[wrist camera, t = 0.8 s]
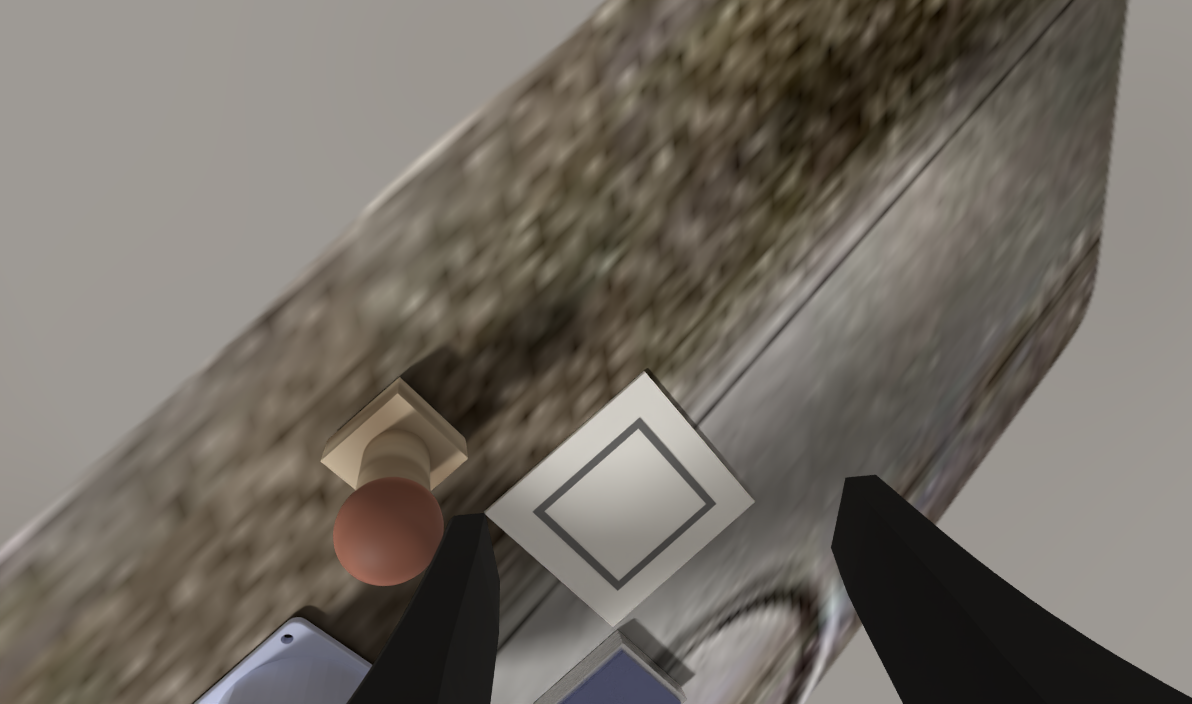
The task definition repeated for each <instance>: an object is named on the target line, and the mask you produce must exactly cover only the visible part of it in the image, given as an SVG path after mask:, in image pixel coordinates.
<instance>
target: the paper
mask: <svg viewBox="0 0 1192 704" xmlns="http://www.w3.org/2000/svg"><path fill="white" fill-rule="evenodd" d="M754 502H755V501H754V500H753V499H752V498H751V496H750V495H749V494H748V493H747V492H746V490H745V489H744V488H743V487H742V486H741V485H740V483H739V482H738V481H737V480H736V479H735V478H734V476H733V475H732V474H731V473H730V472H729V470H728V469H727V468H726V467H725V466H724V465H723V463H722V462H721V461H720V460H719V459H718V457H717V456H716V455H715V454H714V453H713V452H712V450H711V449H710V448H709V447H708V446H707V444H706V443H705V442H704V441H703V440H702V439H701V437H700V436H699V435H698V434H697V433H696V431H695V430H694V429H693V428H692V427H691V426H690V424H689V423H688V422H687V421H686V420H685V418H684V417H683V416H682V415H681V414H680V413H679V411H678V410H677V409H676V408H675V407H674V405H673V404H672V403H671V402H670V401H669V400H668V398H667V397H666V396H665V395H664V394H663V392H662V391H661V390H660V389H659V388H658V387H657V385H656V384H655V383H654V382H653V381H652V380H651V378H650V377H649V376H648V375H647V374H646V372H645V371H643V372H642V373H641V374H640V375H639V376H638V377H636V378H635V379H634V380H633V381H632V382H631V383H630V384H628V385H627V386H626V387H625V388H624V389H623V390H622V391H621V392H619V393H618V394H617V395H616V396H615V397H614V398H613V399H611V400H610V401H609V402H608V403H607V404H606V405H605V406H603V407H602V408H601V409H600V410H599V411H598V412H597V413H595V414H594V415H593V416H592V417H591V418H590V419H589V420H588V421H586V422H585V423H584V424H583V425H582V426H581V427H580V428H578V429H577V430H576V431H575V432H574V433H573V434H572V435H570V436H569V437H568V438H567V439H566V440H565V441H564V442H563V443H561V444H560V445H559V446H558V447H557V448H556V449H555V450H553V451H552V452H551V453H550V454H549V455H548V456H547V457H545V458H544V459H543V460H542V461H541V462H540V463H539V464H537V465H536V466H535V467H534V468H533V469H532V470H531V471H530V472H528V473H527V474H526V475H525V476H524V477H523V478H522V479H520V480H519V481H518V482H517V483H516V484H515V485H514V486H512V487H511V488H510V489H509V490H508V491H507V492H506V493H505V494H503V495H502V496H501V497H500V498H499V499H498V500H497V501H495V502H494V503H493V504H492V505H491V506H490V507H489V508H487V509H486V510H485V511H484V513H485V515H487V516H488V517H489V518H490V519H491V520H492V521H493V522H494V523H496V524H497V525H498V526H499V527H500V528H501V529H502V530H503V531H505V532H506V533H507V534H508V535H509V536H510V537H511V538H513V539H514V540H515V541H516V542H517V543H518V544H519V545H520V546H522V547H523V548H524V549H525V550H526V551H527V552H528V553H529V554H531V555H532V556H533V557H534V558H535V559H536V560H537V561H539V562H540V563H541V564H542V565H543V566H544V567H545V568H546V569H548V570H549V571H550V572H551V573H552V574H553V575H554V576H555V577H557V578H558V579H559V580H560V581H561V582H562V583H563V584H565V585H566V586H567V587H568V588H569V589H570V590H571V591H572V592H574V593H575V594H576V595H577V596H578V597H579V598H580V599H581V600H583V601H584V602H585V603H586V604H587V605H588V606H589V607H591V608H592V609H593V610H594V611H595V612H596V613H597V614H598V615H600V616H601V617H602V618H603V619H604V620H605V621H606V622H607V623H609V624H610V625H611V626H612V627H614V626H615V625H616V624H617V623H618V622H619V621H621V620H622V619H623V618H624V617H625V616H626V615H627V614H628V613H630V612H631V611H632V610H633V609H634V608H635V607H636V606H638V605H639V604H640V603H641V602H642V601H643V600H644V599H646V598H647V597H648V596H649V595H650V594H651V593H652V592H653V591H655V590H656V589H657V588H658V587H659V586H660V585H661V584H663V583H664V582H665V581H666V580H667V579H668V578H669V577H670V576H672V575H673V574H674V573H675V572H676V571H677V570H678V569H680V568H681V567H682V566H683V565H684V564H685V563H686V562H687V561H689V560H690V559H691V558H692V557H693V556H694V555H695V554H697V553H698V552H699V551H700V550H701V549H702V548H703V547H704V546H706V545H707V544H708V543H709V542H710V541H711V540H712V539H714V538H715V537H716V536H717V535H718V534H719V533H720V532H722V531H723V530H724V529H725V528H726V527H727V526H728V525H729V524H731V523H732V522H733V521H734V520H735V519H736V518H737V517H739V516H740V515H741V514H742V513H743V512H744V511H745V510H746V509H748V508H749V507H750V506H751V505H752V504H753V503H754Z"/></svg>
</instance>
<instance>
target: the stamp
mask: <svg viewBox="0 0 1192 704" xmlns="http://www.w3.org/2000/svg"><path fill="white" fill-rule="evenodd" d="M467 459H468V453H467V447H466V440H465V438H464V437H463V436H462V435H461V434H460V433H459V432H458V431H457V430H456V429H455V428H454V427H453V426H452V425H451V424H449V423H448V422H447V421H446V420H445V419H444V418H443V417H442V416H441V415H440V414H439V413H438V412H437V411H436V410H434V409H433V408H432V407H431V406H430V405H429V404H428V403H427V402H426V401H425V400H424V399H423V398H422V397H421V396H420V395H418V394H417V393H416V392H415V391H414V390H413V389H412V388H411V387H410V386H409V385H408V384H407V383H406V382H405V381H404V380H402V379H401V378H400V377H399V378H398V379H397V380H396V381H394V382H393V383H392V384H391V385H390V386H389V387H388V388H386V389H385V390H384V391H383V392H382V393H381V394H380V395H378V396H377V397H376V398H375V399H374V400H373V401H372V402H370V403H369V404H368V405H367V406H366V407H365V408H364V409H363V410H361V411H360V412H359V413H358V414H357V415H356V416H355V417H353V418H352V419H351V420H350V421H349V422H348V423H347V424H345V425H344V426H343V427H342V428H341V429H340V430H339V431H337V432H336V433H335V434H334V435H333V436H332V437H331V438H329V439H328V441H327V444H326V446H325V449H324V452H323V455H322V458H321V462H322V463H323V464H325V465H326V466H327V467H328V468H329V469H331V470H332V471H333V472H334V473H336V474H337V475H338V476H339V477H341V478H342V479H343V480H344V481H345V482H347V483H348V484H349V485H350V486H352V487H353V488H354V489H355V492H353V493H352V494H351V495H350V496H349V497H348V499H347V500H346V501H345V502H344V504H343V505H342V507H341V509H340V510H339V513H338V515H337V518H336V520H335V525H334V532H333V540H334V547H335V551H336V554H337V556H338V558H339V561H340V562H341V564H342V565H343V567H344V568H345V569H346V570H347V571H348V572H349V573H350V574H351V575H352V576H354V577H355V578H357V579H358V580H360V581H363V582H365V583H368V584H372V585H377V586H390V585H396V584H400V583H403V582H406V581H408V580H410V579H412V578H414V577H415V576H417V575H418V574H420V573H421V572H422V571H423V570H424V569H425V568H426V567H428V566H429V564H430V563H431V561H432V559H433V557H434V554H435V552H436V550H437V548H438V546H439V544H440V541H441V539H442V537H443V531H444V521H443V516H442V512H441V509H440V506H439V504H438V502H437V500H436V499H435V497H434V496H433V495H432V494H431V490H433V489H434V488H435V487H436V486H437V485H438V484H439V483H441V482H442V481H443V480H444V479H445V478H446V477H447V476H449V475H450V474H451V473H452V472H453V471H454V470H455V469H456V468H458V467H459V466H460V465H461V464H462V463H463V462H464V461H466V460H467Z"/></svg>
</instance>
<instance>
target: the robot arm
mask: <svg viewBox="0 0 1192 704" xmlns="http://www.w3.org/2000/svg"><path fill="white" fill-rule="evenodd" d="M831 549H832V552H833V554H834V557H835V560H836V563H837V566H838V569H839V572H840V575H841V577H842V580H843V582H844V585H845V588H846V590H847V593H848V596H849V598H850V600H851V602H852V604H853V606H854V608H855V610H856V612H857V614H858V616H859V618H860V620H861V622H862V624H863V626H864V628H865V630H866V632H867V634H868V636H869V638H870V640H871V642H872V644H873V646H874V648H875V649H876V652H877V654H878V656H879V657H880V659H881V661H882V663H883V665H884V667H885V669H886V671H887V673H888V675H889V677H890V679H891V681H892V683H893V685H894V687H895V689H896V691H897V693H898V695H899V697H900V699H901V700H902V702H903V704H1192V698H1191V697H1189V696H1187V695H1185V694H1184V693H1182V692H1180V691H1178V690H1176V689H1174V688H1172V687H1171V686H1169V685H1167V684H1165V683H1163V682H1162V681H1160V680H1158V679H1157V678H1155V677H1153V676H1151V675H1150V674H1148V673H1146V672H1144V671H1142V670H1141V669H1139V668H1138V667H1136V666H1134V665H1132V664H1131V663H1129V662H1127V661H1125V660H1123V659H1122V658H1120V657H1118V656H1117V655H1115V654H1113V653H1112V652H1110V651H1109V650H1107V649H1105V648H1104V647H1102V646H1101V645H1099V644H1097V643H1096V642H1094V641H1092V640H1091V639H1089V638H1088V637H1086V636H1085V635H1083V634H1082V633H1080V632H1078V631H1077V630H1076V629H1074V628H1072V627H1071V626H1069V625H1068V624H1066V623H1065V622H1063V621H1061V620H1060V619H1059V618H1057V617H1055V616H1054V615H1053V614H1051V613H1050V612H1048V611H1046V610H1045V609H1044V608H1042V607H1041V606H1039V605H1038V604H1037V603H1035V602H1034V601H1032V600H1031V599H1029V598H1028V597H1027V596H1025V595H1024V594H1023V593H1021V592H1020V591H1019V590H1017V589H1016V588H1014V587H1013V586H1012V585H1010V584H1009V583H1008V582H1006V581H1005V580H1004V579H1002V578H1001V577H999V576H998V575H997V574H995V573H994V572H993V571H992V570H990V569H989V568H988V567H986V566H985V565H984V564H982V563H981V562H980V561H978V560H977V559H976V558H975V557H973V556H972V555H971V554H970V553H968V552H967V551H966V550H965V549H963V548H962V547H961V546H960V545H958V544H957V543H956V542H955V541H954V540H952V539H951V538H950V537H948V536H947V535H946V534H945V533H944V532H942V531H941V530H940V529H939V528H938V527H937V526H935V525H934V524H933V523H932V522H931V521H930V520H928V519H927V518H926V517H925V516H924V515H922V514H921V513H920V512H919V511H918V510H916V509H915V508H914V507H913V506H912V505H911V504H909V503H908V502H907V501H906V500H905V499H904V498H902V497H901V496H900V495H899V494H898V493H897V492H895V491H894V490H893V489H892V488H891V487H890V486H888V485H887V484H886V483H885V482H884V481H882V480H881V479H880V478H879V477H878V476H876V475H869V476H858V477H848V478H845V483H844V488H843V493H842V498H841V502H840V507H839V512H838V517H837V521H836V526H835V531H834V536H833V541H832V545H831ZM499 602H500V580H499V575H498V570H497V566H496V561H495V557H494V552H493V547H492V543H491V538H490V533H489V529H488V524H487V520H486V515H485V513H478V514H468V515H458V516H453V517H452V518H451V519H450V520H449V523H448V525H447V528H446V530H445V532H444V535H443V537H442V539H441V541H440V544H439V546H438V548H437V550H436V552H435V554H434V557H433V559H432V561H431V563H430V565H429V567H428V569H427V571H426V573H425V575H424V577H423V579H422V581H421V583H420V584H419V586H418V588H417V590H416V592H415V594H414V596H413V597H412V599H411V601H410V603H409V605H408V607H407V608H406V610H405V612H404V614H403V616H402V617H401V619H400V621H399V623H398V624H397V626H396V628H395V629H394V631H393V633H392V634H391V636H390V637H389V639H388V641H387V642H386V644H385V646H384V647H383V649H382V651H381V652H380V654H379V656H378V657H377V659H376V660H375V662H374V664H373V665H372V664H370V663H369V662H367V661H366V660H365V659H363V658H362V657H360V656H359V655H357V654H356V653H354V652H353V651H351V650H350V649H348V648H347V647H345V646H344V645H343V644H341V643H340V642H338V641H337V640H335V639H334V638H332V637H331V636H329V635H328V634H326V633H325V632H323V631H322V630H321V629H319V628H318V627H316V626H315V625H313V624H312V623H310V622H309V621H307V620H306V619H304V618H302V617H295V618H292V619H290V620H288V621H287V622H286V623H285V624H284V625H283V626H281V627H280V628H279V629H278V630H277V631H276V632H275V633H273V634H272V635H271V636H270V637H269V638H268V639H267V640H266V641H264V642H263V643H262V644H261V645H260V646H259V647H258V648H256V649H255V650H254V651H253V652H252V653H251V654H250V655H248V656H247V657H246V658H245V659H244V660H243V661H242V662H240V663H239V664H238V665H237V666H236V667H235V668H234V669H233V670H231V671H230V672H229V673H228V674H227V675H226V676H225V677H223V678H222V679H221V680H220V681H219V682H218V683H217V684H215V685H214V686H213V687H212V688H211V689H210V690H209V691H207V692H206V693H205V694H204V695H203V696H202V697H201V698H200V699H198V700H197V701H196V702H195V703H194V704H490V702H491V694H492V686H493V678H494V670H495V661H496V653H497V645H498V636H499ZM285 634H290V635H292V636H293V637H291V638H286V637H284V636H283V635H285Z"/></svg>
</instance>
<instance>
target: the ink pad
mask: <svg viewBox="0 0 1192 704" xmlns="http://www.w3.org/2000/svg"><path fill="white" fill-rule="evenodd" d="M686 700H687V698H686V696H685V694H684V692H683V690H682V688H681V686H680V685H679V684H678V683H677V682H676V681H675V680H674V679H673V678H671V677H670V676H669V675H668V674H667V673H666V672H665V671H663V670H662V669H661V668H660V667H659V666H658V665H657V664H656V663H654V662H653V661H652V660H651V659H650V658H649V657H648V656H647V655H645V654H644V653H643V652H642V651H641V650H640V649H639V648H638V647H636V646H635V645H634V644H633V643H632V642H631V641H630V640H629V639H627V638H626V637H625V636H624V635H623V634H622V633H621V632H619V631H618V630H617V631H615V632H614V633H613V634H612V635H611V636H610V637H609V638H607V639H606V640H605V641H604V642H603V643H602V644H601V645H599V646H598V647H597V648H596V649H595V650H594V651H593V652H592V653H590V654H589V655H588V656H587V657H586V658H585V659H584V660H582V661H581V662H580V663H579V664H578V665H577V666H576V667H575V668H573V669H572V670H571V671H570V672H569V673H568V674H567V675H565V676H564V677H563V678H562V679H561V680H560V681H559V682H558V683H556V684H555V685H554V686H553V687H552V688H551V689H550V690H548V691H547V692H546V693H545V694H544V695H543V696H542V697H541V698H539V699H538V700H537V701H536V702H535V703H534V704H682V703H684V702H685V701H686Z"/></svg>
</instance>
